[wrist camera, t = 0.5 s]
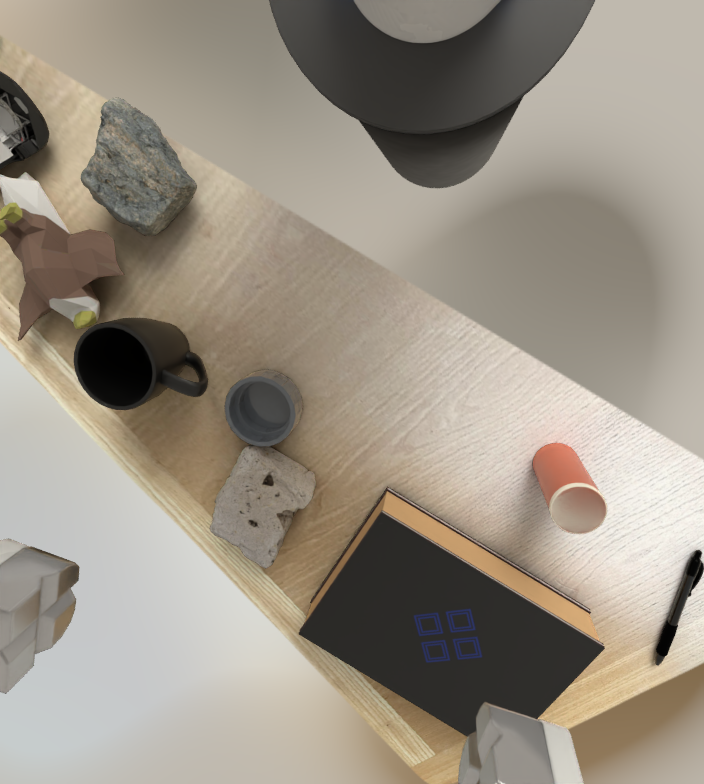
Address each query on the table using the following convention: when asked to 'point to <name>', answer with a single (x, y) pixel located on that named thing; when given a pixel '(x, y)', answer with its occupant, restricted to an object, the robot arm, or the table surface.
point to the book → (447, 619)
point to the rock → (136, 170)
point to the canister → (569, 489)
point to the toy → (53, 256)
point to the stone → (261, 502)
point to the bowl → (263, 408)
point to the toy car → (19, 124)
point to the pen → (679, 605)
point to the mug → (135, 362)
